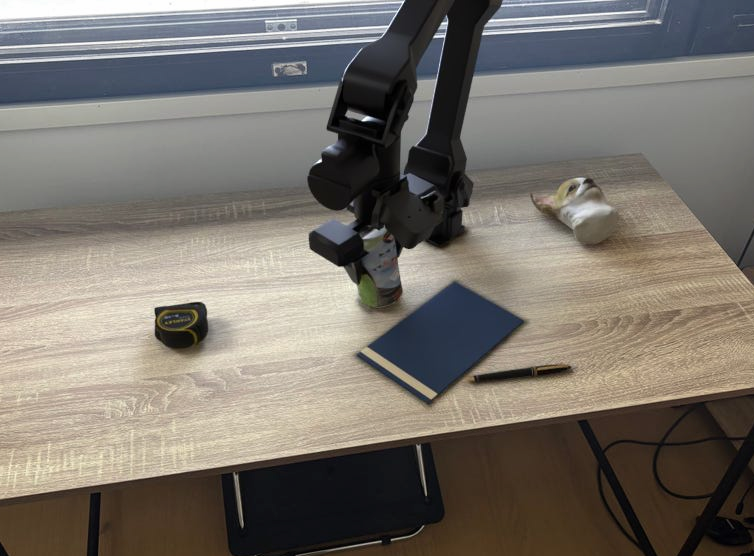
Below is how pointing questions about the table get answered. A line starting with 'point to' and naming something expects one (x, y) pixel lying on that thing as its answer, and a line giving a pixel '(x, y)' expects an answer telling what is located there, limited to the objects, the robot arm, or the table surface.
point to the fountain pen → (520, 373)
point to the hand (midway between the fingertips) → (376, 269)
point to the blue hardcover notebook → (440, 341)
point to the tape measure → (181, 324)
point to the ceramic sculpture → (580, 209)
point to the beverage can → (380, 270)
